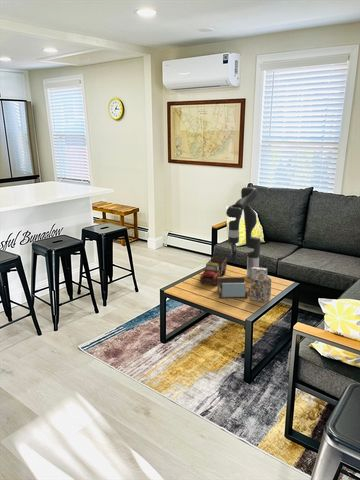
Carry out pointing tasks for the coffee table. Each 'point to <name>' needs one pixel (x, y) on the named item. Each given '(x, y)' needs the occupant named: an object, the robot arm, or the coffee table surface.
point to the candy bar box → (258, 271)
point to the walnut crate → (230, 280)
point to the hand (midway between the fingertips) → (233, 259)
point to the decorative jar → (260, 288)
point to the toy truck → (213, 270)
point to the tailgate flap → (233, 289)
